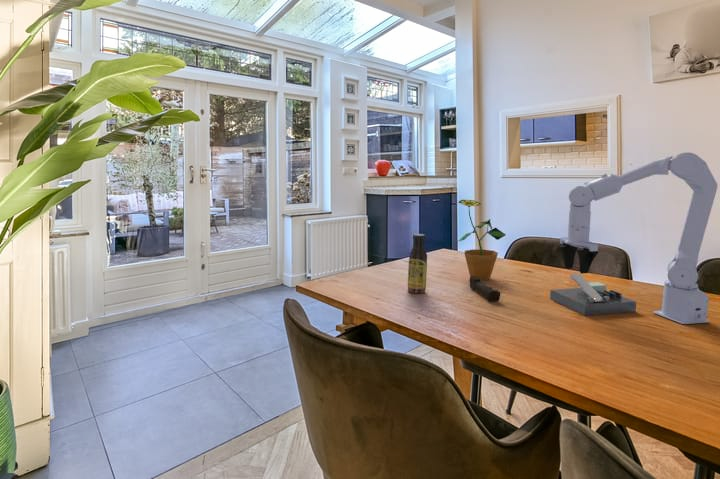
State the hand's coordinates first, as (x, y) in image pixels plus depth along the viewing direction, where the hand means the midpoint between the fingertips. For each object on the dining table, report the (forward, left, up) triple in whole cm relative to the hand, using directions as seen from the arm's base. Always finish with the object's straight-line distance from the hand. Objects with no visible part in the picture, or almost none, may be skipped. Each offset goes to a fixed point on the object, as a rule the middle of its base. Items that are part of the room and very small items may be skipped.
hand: (576, 270), depth 126 cm
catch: (0, -6, -7) cm, 9 cm away
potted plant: (+34, +15, -10) cm, 39 cm away
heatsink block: (-4, -3, -10) cm, 11 cm away
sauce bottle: (+21, +44, -10) cm, 50 cm away
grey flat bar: (-5, 0, -4) cm, 6 cm away
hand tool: (+14, +24, -10) cm, 30 cm away
